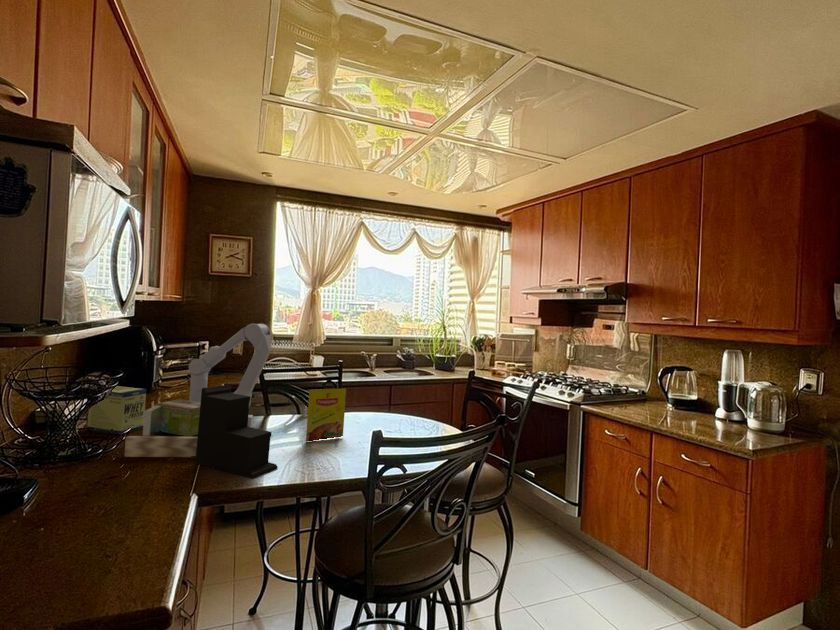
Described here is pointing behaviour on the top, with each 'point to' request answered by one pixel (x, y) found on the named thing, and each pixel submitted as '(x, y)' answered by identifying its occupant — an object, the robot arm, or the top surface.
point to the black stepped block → (231, 435)
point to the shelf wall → (160, 446)
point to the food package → (325, 413)
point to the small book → (152, 421)
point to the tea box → (180, 418)
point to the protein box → (119, 411)
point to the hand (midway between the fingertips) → (196, 426)
